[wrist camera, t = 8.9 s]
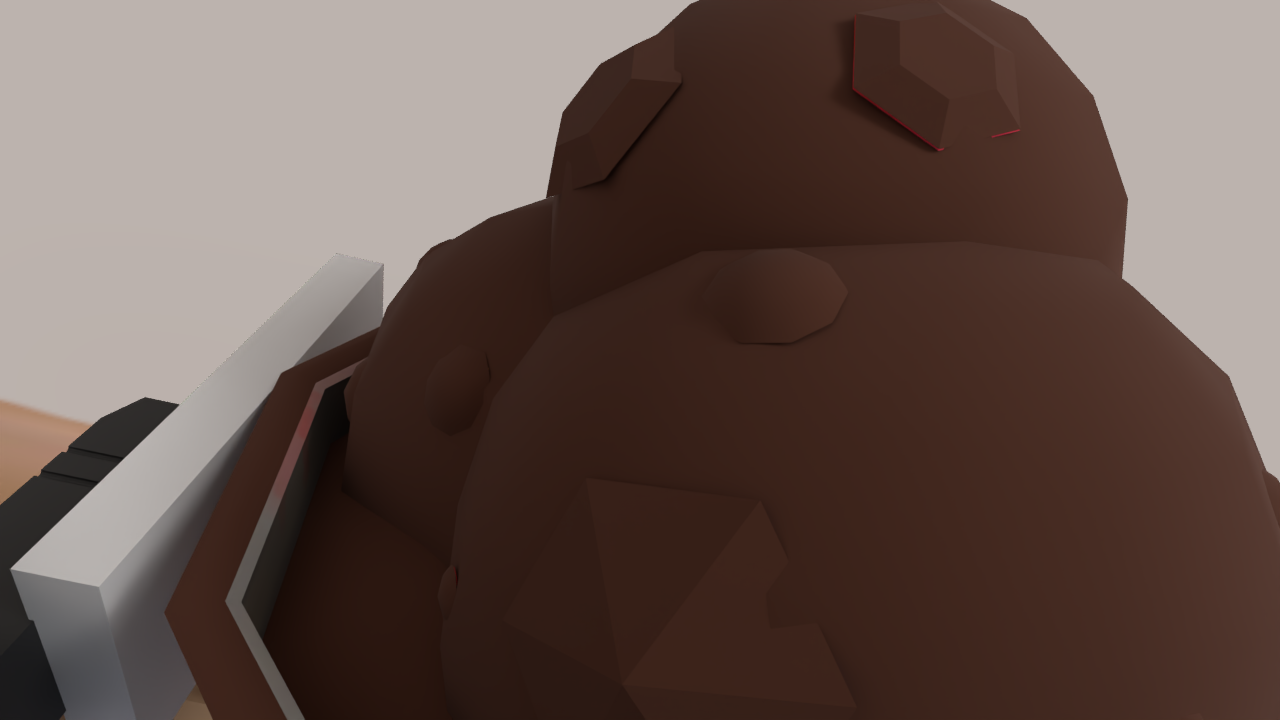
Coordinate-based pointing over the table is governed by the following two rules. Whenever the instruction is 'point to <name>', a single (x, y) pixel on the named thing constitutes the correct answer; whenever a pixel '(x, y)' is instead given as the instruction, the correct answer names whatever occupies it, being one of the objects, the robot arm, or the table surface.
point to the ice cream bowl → (764, 421)
